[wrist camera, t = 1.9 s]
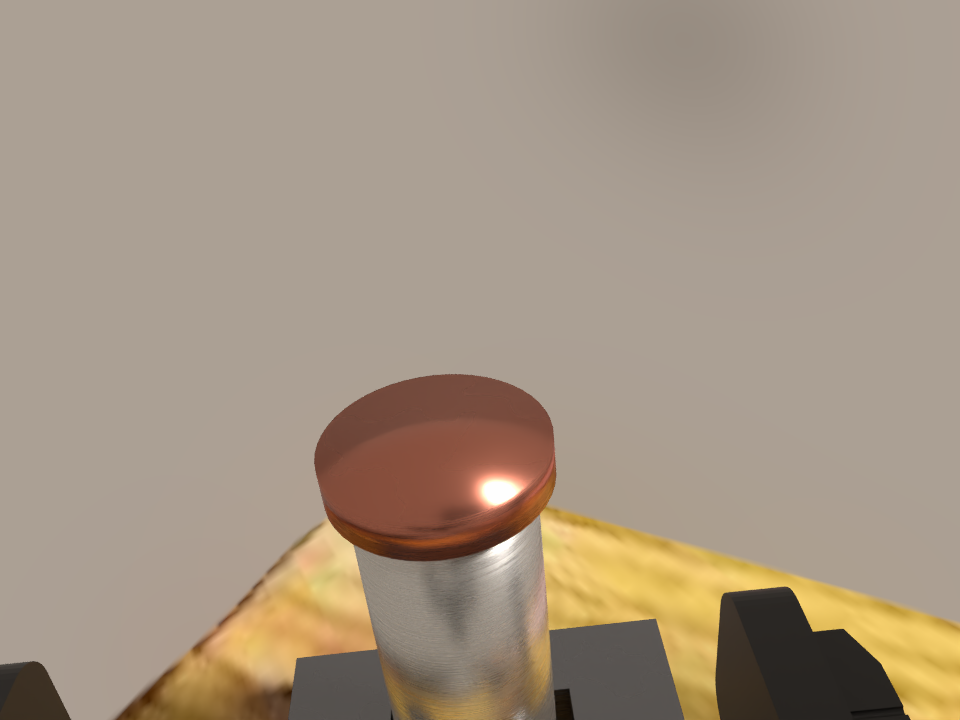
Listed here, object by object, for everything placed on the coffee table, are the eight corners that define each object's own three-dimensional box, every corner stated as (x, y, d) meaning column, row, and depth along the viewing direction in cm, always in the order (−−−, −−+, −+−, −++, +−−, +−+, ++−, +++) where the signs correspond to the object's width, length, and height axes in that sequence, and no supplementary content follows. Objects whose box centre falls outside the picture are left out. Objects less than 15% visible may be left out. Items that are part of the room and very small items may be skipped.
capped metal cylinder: (567, 746, 35) (539, 363, 26) (592, 911, 30) (569, 506, 20) (409, 764, 35) (325, 387, 26) (407, 931, 30) (301, 535, 20)
